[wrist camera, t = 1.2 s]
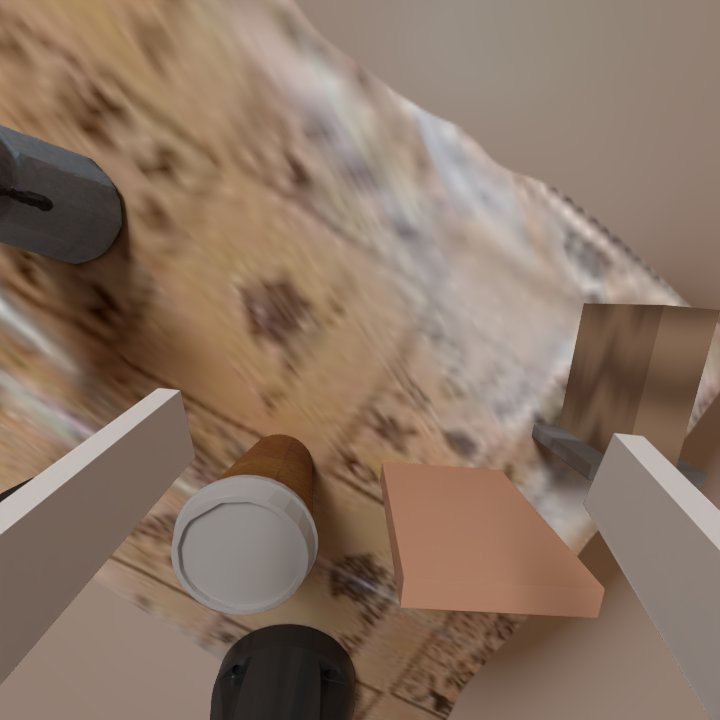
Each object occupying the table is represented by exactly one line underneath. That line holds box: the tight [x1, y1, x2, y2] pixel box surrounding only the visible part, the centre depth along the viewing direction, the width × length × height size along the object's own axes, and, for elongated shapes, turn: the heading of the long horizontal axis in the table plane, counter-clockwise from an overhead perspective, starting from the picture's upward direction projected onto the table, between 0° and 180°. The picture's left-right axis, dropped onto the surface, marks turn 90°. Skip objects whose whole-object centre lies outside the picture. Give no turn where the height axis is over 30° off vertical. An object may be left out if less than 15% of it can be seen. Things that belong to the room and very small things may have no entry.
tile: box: [380, 462, 605, 618], centre depth 27 cm, size 2×12×14 cm, turn 85°
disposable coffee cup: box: [171, 434, 318, 615], centre depth 27 cm, size 10×10×12 cm
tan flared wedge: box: [532, 303, 720, 487], centre depth 28 cm, size 13×9×8 cm
